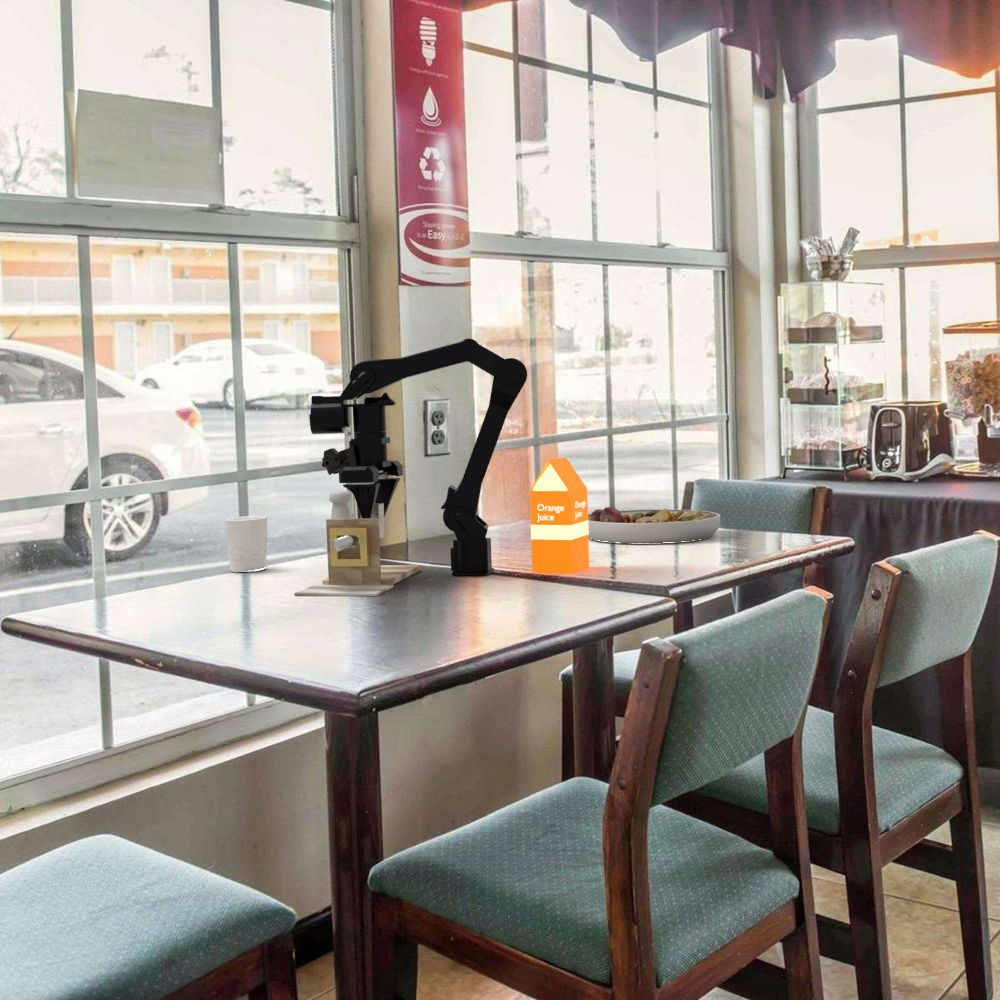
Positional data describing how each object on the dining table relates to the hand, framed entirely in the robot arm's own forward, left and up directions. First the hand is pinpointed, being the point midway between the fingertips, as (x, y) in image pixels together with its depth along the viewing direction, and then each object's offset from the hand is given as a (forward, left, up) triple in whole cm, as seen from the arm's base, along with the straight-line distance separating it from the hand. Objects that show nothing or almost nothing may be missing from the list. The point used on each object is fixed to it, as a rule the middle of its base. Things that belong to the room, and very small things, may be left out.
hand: (373, 520), depth 229 cm
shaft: (0, +9, -3) cm, 10 cm away
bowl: (-43, -58, -11) cm, 73 cm away
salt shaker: (+18, -33, -10) cm, 39 cm away
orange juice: (-32, -8, -10) cm, 35 cm away
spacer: (0, +13, -6) cm, 15 cm away
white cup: (+28, -8, -10) cm, 31 cm away
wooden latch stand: (0, +7, -10) cm, 12 cm away
